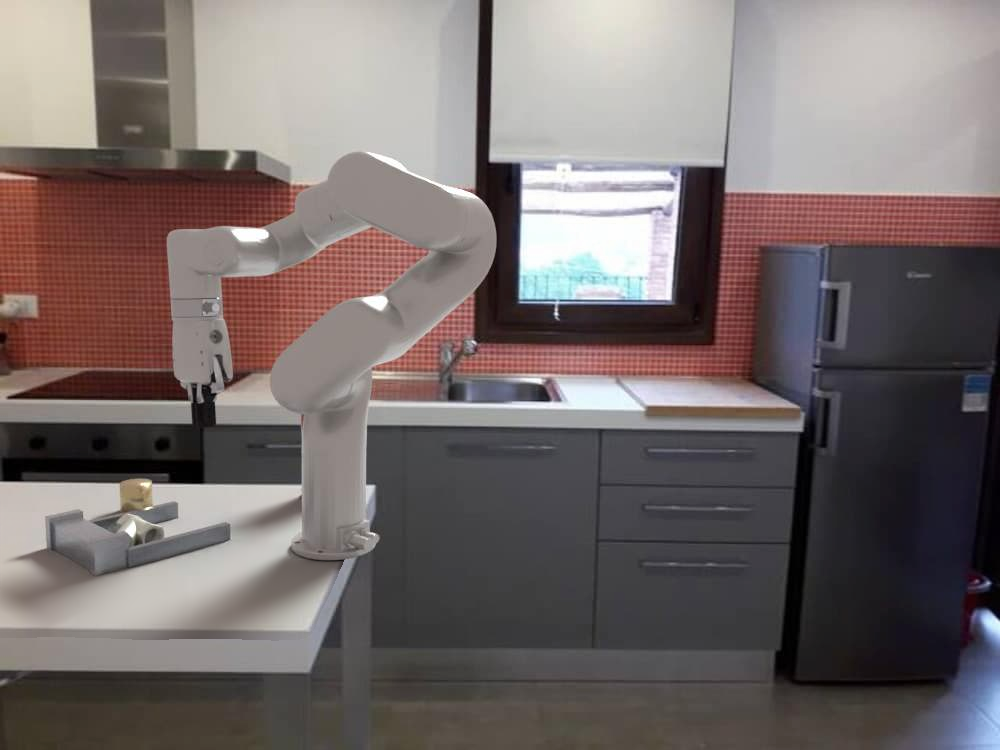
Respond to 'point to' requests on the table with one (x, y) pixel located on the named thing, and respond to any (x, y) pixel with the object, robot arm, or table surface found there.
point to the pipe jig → (122, 539)
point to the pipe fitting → (139, 529)
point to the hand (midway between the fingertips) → (204, 426)
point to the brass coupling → (135, 494)
